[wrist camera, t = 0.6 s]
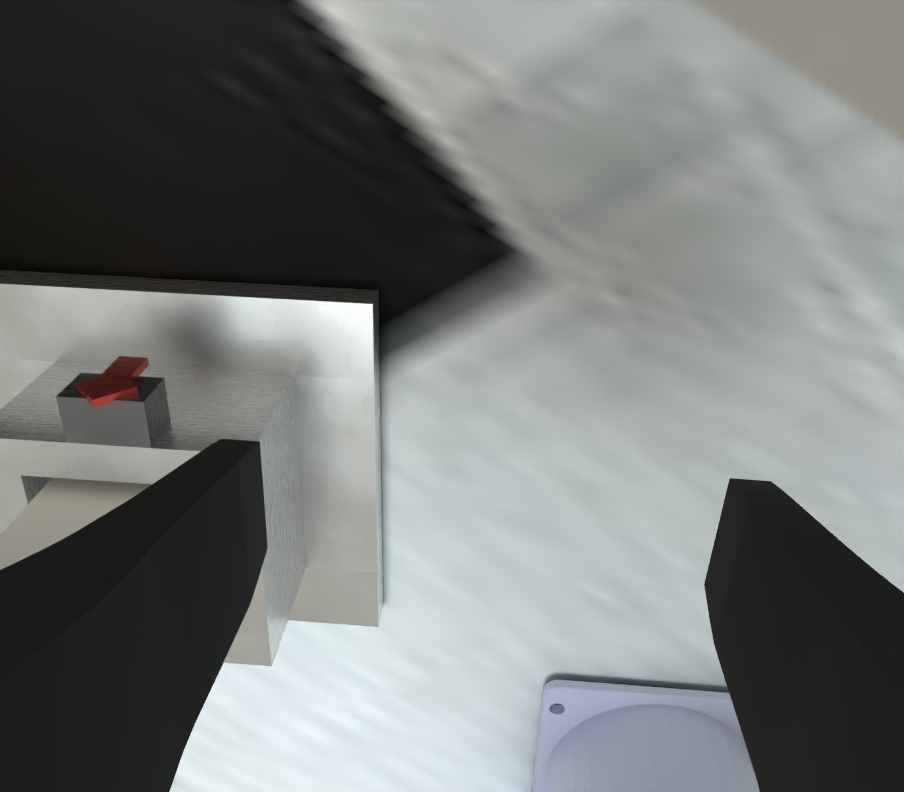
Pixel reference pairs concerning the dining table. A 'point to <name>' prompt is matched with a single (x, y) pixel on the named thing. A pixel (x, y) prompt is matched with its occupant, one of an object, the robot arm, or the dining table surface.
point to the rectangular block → (61, 514)
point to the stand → (209, 417)
